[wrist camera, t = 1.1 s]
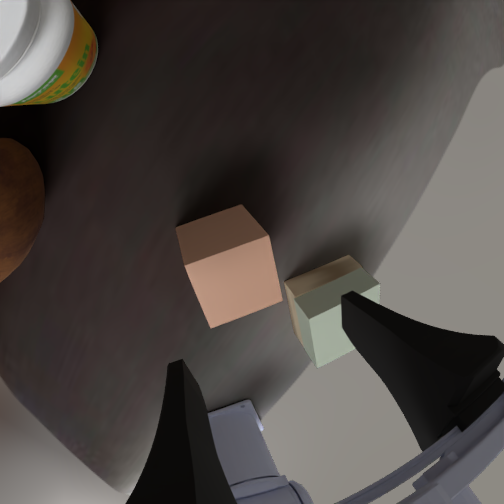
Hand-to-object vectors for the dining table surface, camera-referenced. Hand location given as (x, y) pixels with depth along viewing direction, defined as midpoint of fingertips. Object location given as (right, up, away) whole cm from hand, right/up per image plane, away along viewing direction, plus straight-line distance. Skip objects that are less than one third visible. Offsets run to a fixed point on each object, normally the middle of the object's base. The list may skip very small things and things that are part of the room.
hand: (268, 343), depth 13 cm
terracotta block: (-3, +4, +8) cm, 10 cm away
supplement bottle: (-12, +15, -1) cm, 19 cm away
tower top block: (+6, -1, +12) cm, 13 cm away
